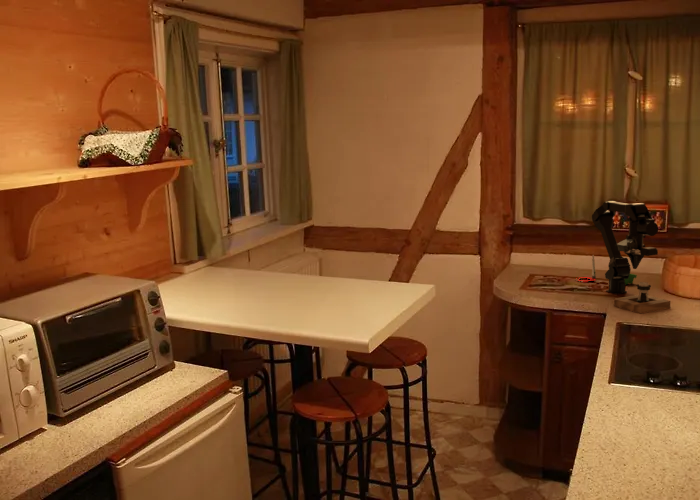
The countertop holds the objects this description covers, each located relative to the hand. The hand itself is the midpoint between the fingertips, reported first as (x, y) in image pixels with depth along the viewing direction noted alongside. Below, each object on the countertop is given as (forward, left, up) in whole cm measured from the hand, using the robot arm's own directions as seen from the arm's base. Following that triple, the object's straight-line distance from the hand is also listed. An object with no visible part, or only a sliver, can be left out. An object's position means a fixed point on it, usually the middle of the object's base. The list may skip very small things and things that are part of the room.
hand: (634, 268), depth 284 cm
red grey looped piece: (-37, +7, -13) cm, 40 cm away
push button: (+12, -8, -13) cm, 19 cm away
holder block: (+12, -8, -13) cm, 19 cm away
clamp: (-24, +19, -13) cm, 34 cm away
